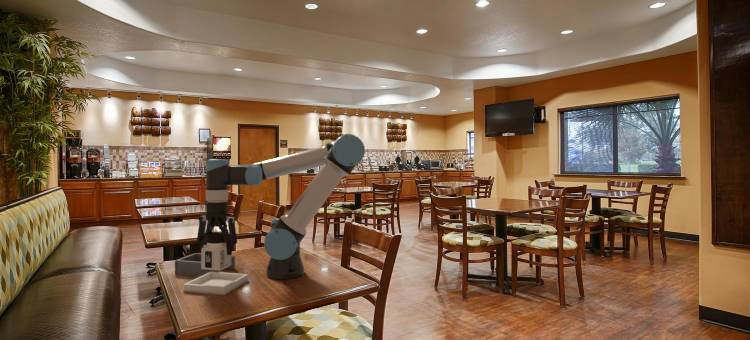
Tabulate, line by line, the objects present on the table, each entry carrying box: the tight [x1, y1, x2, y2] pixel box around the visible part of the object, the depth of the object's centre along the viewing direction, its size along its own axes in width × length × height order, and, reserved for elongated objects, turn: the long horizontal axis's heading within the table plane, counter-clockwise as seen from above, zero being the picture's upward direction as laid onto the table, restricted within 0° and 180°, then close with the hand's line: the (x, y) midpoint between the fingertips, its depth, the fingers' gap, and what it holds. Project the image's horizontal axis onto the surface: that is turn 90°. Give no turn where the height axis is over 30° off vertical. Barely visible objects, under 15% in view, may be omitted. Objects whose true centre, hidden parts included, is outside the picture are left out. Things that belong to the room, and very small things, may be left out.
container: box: [200, 230, 233, 271], centre depth 146 cm, size 8×8×13 cm
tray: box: [183, 271, 249, 296], centre depth 146 cm, size 16×16×3 cm
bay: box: [174, 252, 236, 277], centre depth 165 cm, size 19×13×6 cm
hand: (216, 262), depth 146 cm, fingers closed on container, 8 cm apart
